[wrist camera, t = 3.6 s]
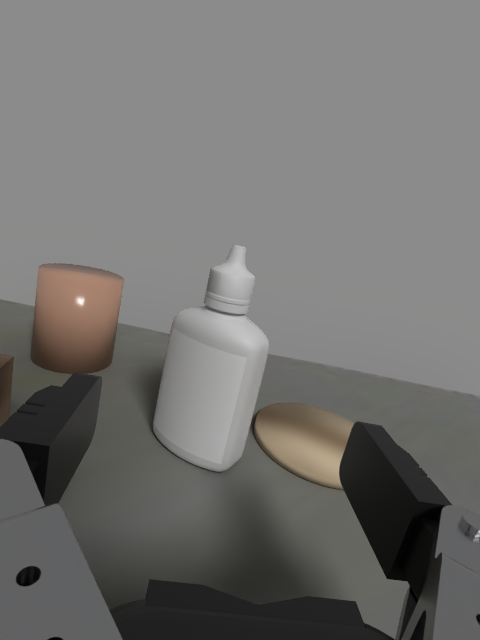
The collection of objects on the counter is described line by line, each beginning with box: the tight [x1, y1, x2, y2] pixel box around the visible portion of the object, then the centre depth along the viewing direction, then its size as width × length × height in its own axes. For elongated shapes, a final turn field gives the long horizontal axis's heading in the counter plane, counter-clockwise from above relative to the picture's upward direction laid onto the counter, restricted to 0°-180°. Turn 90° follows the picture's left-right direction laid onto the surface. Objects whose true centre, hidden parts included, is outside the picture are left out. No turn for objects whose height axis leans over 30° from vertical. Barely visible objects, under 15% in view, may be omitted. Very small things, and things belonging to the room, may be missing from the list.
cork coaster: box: [254, 403, 355, 490], centre depth 25 cm, size 9×9×1 cm
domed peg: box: [30, 263, 124, 374], centre depth 29 cm, size 6×6×7 cm
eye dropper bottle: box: [153, 245, 269, 472], centre depth 21 cm, size 4×6×12 cm
